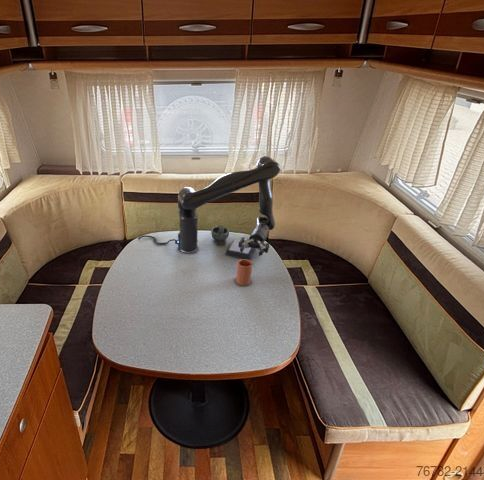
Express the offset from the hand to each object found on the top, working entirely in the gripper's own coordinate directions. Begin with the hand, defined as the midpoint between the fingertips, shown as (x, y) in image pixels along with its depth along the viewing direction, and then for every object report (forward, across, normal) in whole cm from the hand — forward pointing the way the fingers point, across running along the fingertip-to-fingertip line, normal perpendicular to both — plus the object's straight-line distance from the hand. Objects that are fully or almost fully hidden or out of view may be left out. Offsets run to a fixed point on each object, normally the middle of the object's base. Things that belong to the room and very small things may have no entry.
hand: (250, 252), depth 166 cm
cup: (+10, 0, +10) cm, 14 cm away
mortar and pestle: (-20, -21, +10) cm, 31 cm away
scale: (-15, -8, +10) cm, 20 cm away
